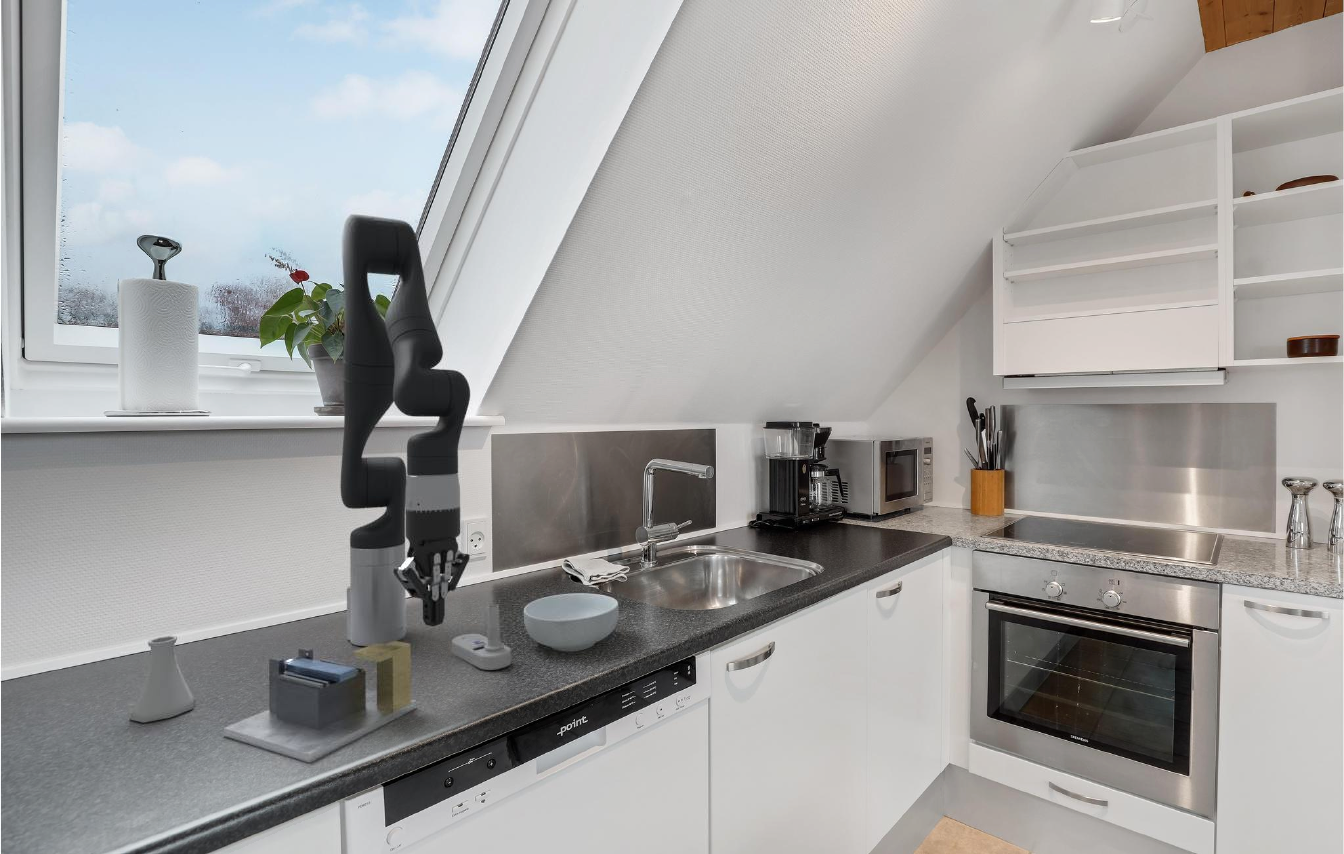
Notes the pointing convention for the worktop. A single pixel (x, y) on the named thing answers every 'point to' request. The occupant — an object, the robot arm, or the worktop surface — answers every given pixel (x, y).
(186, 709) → the flask
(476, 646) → the electronic device
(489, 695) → the worktop surface
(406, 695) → the block
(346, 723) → the clip base
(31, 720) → the worktop surface
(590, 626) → the cereal bowl
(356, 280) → the robot arm
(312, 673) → the blue bar
